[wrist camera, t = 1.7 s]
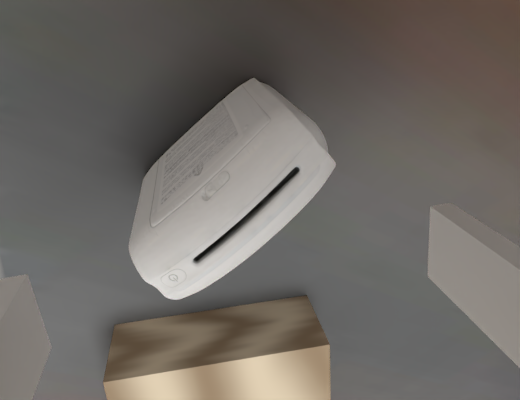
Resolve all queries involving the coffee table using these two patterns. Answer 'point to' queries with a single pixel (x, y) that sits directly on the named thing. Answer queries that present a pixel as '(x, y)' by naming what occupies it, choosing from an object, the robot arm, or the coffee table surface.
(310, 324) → the birch box
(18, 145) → the coffee table surface
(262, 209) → the photo printer
